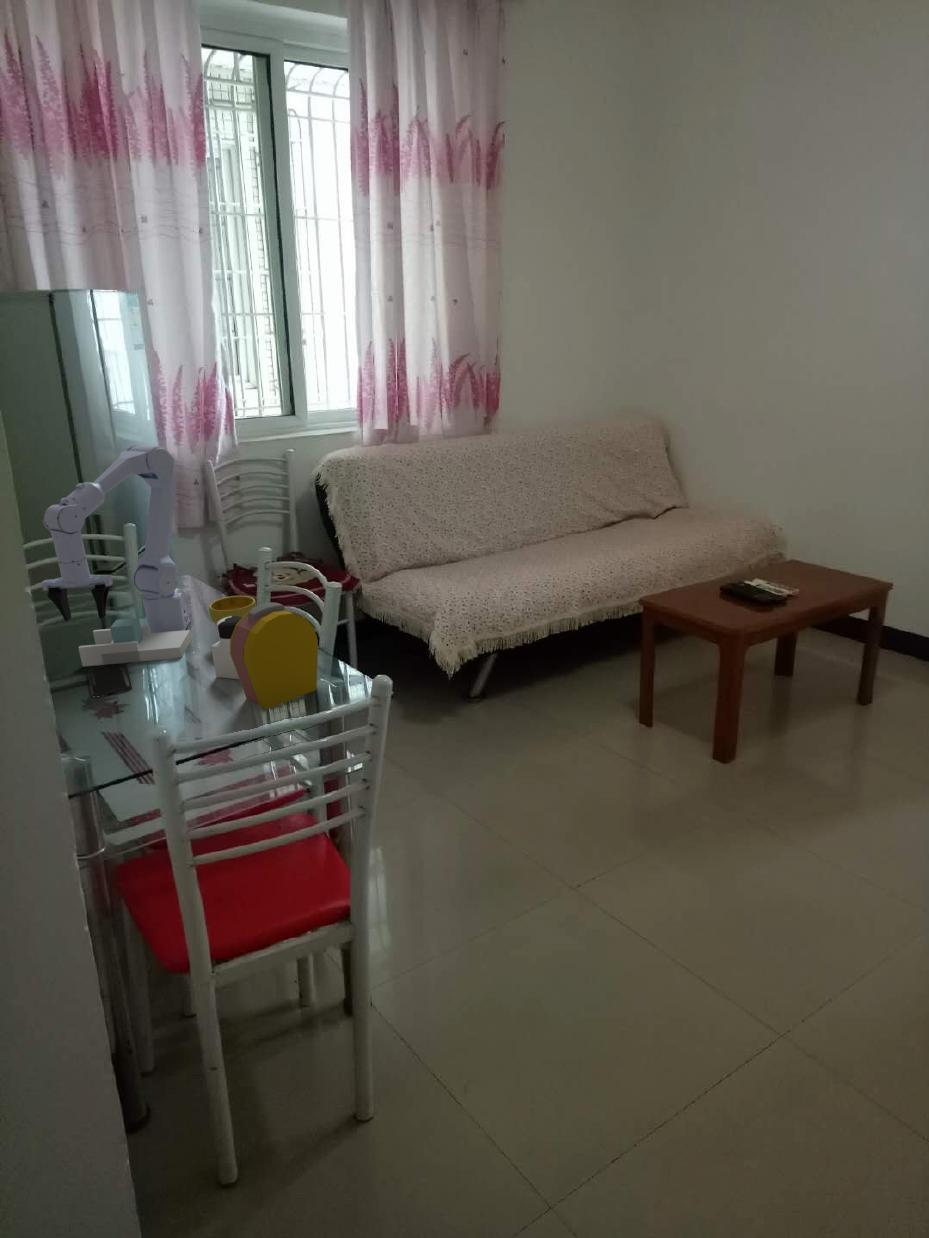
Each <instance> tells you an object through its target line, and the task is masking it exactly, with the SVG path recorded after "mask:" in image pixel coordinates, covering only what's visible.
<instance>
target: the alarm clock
mask: <svg viewBox="0 0 929 1238" xmlns="http://www.w3.org/2000/svg"><path fill="white" fill-rule="evenodd" d="M318 652H319V639H318V635H317V633H316V630H315V627H314V626H313V625H312V624H311V623H310V622H309V620H308V619H307V618H306V617H303V616H301V615H298V614H296V613H293V612H291V611H288V610H286V609H285V605H284V604H281V603H279V602H273V601H272V602H264V603H260V604H258V605H257V604H256V607H254V608H252V609H251V610H250V611H249V612H248V613H246V614H245V615H244V616H243V617H242V619H241V620H240V621H239V622H238V623H237V624H236V626H235V629H234V631H233V634H232V636H231V639H230V655H231V658H232V660H233V663H234V665H235V668H236V671H237V674H238V676H239V679H238V680H239V682H240V684H241V687H242V690H243V692H244V695H245V698H246V699H247V700H248V701H250V702H251V703H254V704H256V705H258V706H259V707H261V708H263V709H265V710H266V711H267V710H270V709H271V708H275V707H277V706H279V705H282V704H284V703H287V702H290V701H292V700H295V699H297V698H299V697H302V696H305V695H307V694H310V693H312V692H314V691H315V692H316V691H317V689H318V688H317V687H318V686H317V685H318V659H319V658H318V655H319V653H318Z"/></svg>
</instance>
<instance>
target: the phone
mask: <svg viewBox="0 0 929 1238" xmlns="http://www.w3.org/2000/svg"><path fill="white" fill-rule="evenodd" d="M128 671H129V670H128V668H127V664H126V663H117V664H110V665H107V666H102V667H101V666H100V667H97V668H92V669H89V670H88V671H87V681H88V685H89V689H90V695H91V697H92V696H95V697H97V696H103V695H108V694H113V693H114V694H113V695H116V694H115V693H117V694H120V693H126V692H129V691H131V690H132V689H133V684H132V681H131V678H130V675H129V672H128ZM108 696H109V695H108ZM103 697H104V696H103Z"/></svg>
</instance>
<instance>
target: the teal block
mask: <svg viewBox="0 0 929 1238" xmlns="http://www.w3.org/2000/svg"><path fill="white" fill-rule="evenodd" d="M141 626H142V625H141V621H140V618H139V617H136V618H135V617H134V618H124V619H121V618H120V619H116V620H115V621H114V622H113V623H112V625H111V626H110V627H109V629H110V630H111V634H112V639H113V643H120V642H131V641H138V644H139V643H140V642H141V641H142V639H143V635H142V630H141Z"/></svg>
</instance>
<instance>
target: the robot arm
mask: <svg viewBox="0 0 929 1238" xmlns="http://www.w3.org/2000/svg"><path fill="white" fill-rule="evenodd" d="M174 464H175V458H174V457H173V455H172V454H171V452H170V451H169V450H168V449H167V448H165V447H164V446H158V445H155V446H148V445H138V444H133V445H130V446H128V447H127V448H126V450H123V451H121V452H120V454H119V457H118V458H117V459H116V460H115V461H114V462H113V463H112V464H111V465H110V466H109V467H108V468H107V469H106V470H104V472H103V473H101V474H100V475H99V476H98V477H97V478H96V479H95V480H94V481H93V482H91V481H90V482H89V481H84V482H79V483H78V484H76V485H75V488H76V489H74V490H73V491H72V492H71V493H69V494H68V495H67V496H66V497H62V498H61V499H60V502H59V504H52V505H50V506H49V507H48V508H47V509H46V510H45V513H44V515H43V516H44V517H43V519H42V520H41V522H42V524H43V526H44V528H46V529H47V530H48V531H49V532H50V534H51V535H50V536H51V538H52V541H53V546H54V550H55V556H56V558H57V562H58V567H59V571H60V572H59V573H60V577H58V578H52V579H44V580H43V581H41V587H42V591H43V592H45V591H48V592H47V594H46V596H47V599H49V600H51V602H52V603H53V604H54V605H55V607H56V608H57V610H58V611H59V612H60V615H61V616H62V618H63V620H64V621H65V622H69V621H70V620H71V619H72V612H71V608H70V605H69V597H68V589H76V588H77V589H78V588H92V587H94V588H93V589H90V592H91V594H92V596H93V599H94V602H95V605H96V610H97V614H98V619H100V620H101V619H104V618H105V617H106V616H107V611H106V610H107V600H108V596H109V591H110V589H111V586H112V585H113V584H114V581H113V577H112V575H111V574H110V575H100V574H97V575H95V574H91V573H90V568H89V563H88V559H87V555H86V554H87V553H86V549H85V544H84V539H83V536H82V529H83V527H84V524H85V521H86V518H87V517H89V516H90V515H91V514H92V513H93V512H94V511H95V510H96V509H98V508H99V507H100V506H102V505H103V504H104V502H106V501H105V500H106V494H107V493H109V492H110V491H112V489H114V488H115V487H116V486H118V485H119V484H121V483H122V482H123V481H124V480H126V479H127V478H128V477H130V476H131V475H136V476H139V477H140V478H142V480H144V482H146V484H147V485H148V486H149V487H150V497H149V498H150V499H149V505H148V506H149V507H148V518H147V528H146V538H145V546H144V547H145V548H144V553H143V555H141V556H140V558H138V560H137V564H136V566H135V567H136V568H135V570H134V571H133V574H132V576H131V577H132V584H133V586H134V588H135V589H137V590H138V591H139V593H140V594H139V595H140V596H141V598H142V602H143V607H144V612H145V618H146V621H147V626H148V625H149V626H150V631H151V633H161V632H172V631H184V630H186V629H187V627H188V626H189V624H190V622H191V619H190V617H189V616H190V615H189V609H188V604H187V600H186V596H185V593H184V592H177V591H176V590H177V588H178V585H179V584H178V583H179V580H178V575H177V564H176V563H175V562H174V561H173V560H172V558H171V556H170V551H171V542H172V541H171V540H172V531H173V530H172V529H173V519H174V509H175V499H176V489H177V480H176V476H175V472H174Z"/></svg>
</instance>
